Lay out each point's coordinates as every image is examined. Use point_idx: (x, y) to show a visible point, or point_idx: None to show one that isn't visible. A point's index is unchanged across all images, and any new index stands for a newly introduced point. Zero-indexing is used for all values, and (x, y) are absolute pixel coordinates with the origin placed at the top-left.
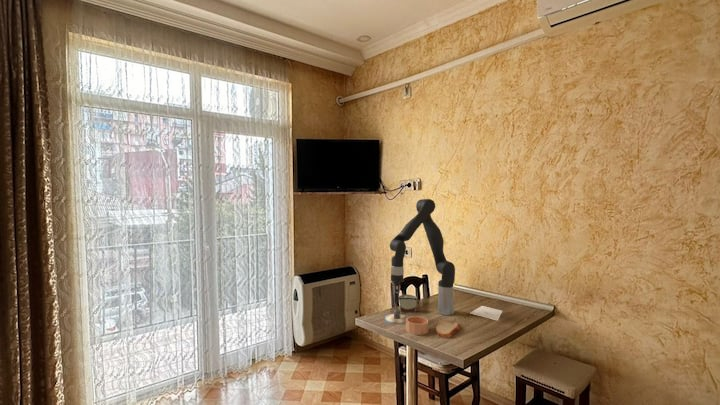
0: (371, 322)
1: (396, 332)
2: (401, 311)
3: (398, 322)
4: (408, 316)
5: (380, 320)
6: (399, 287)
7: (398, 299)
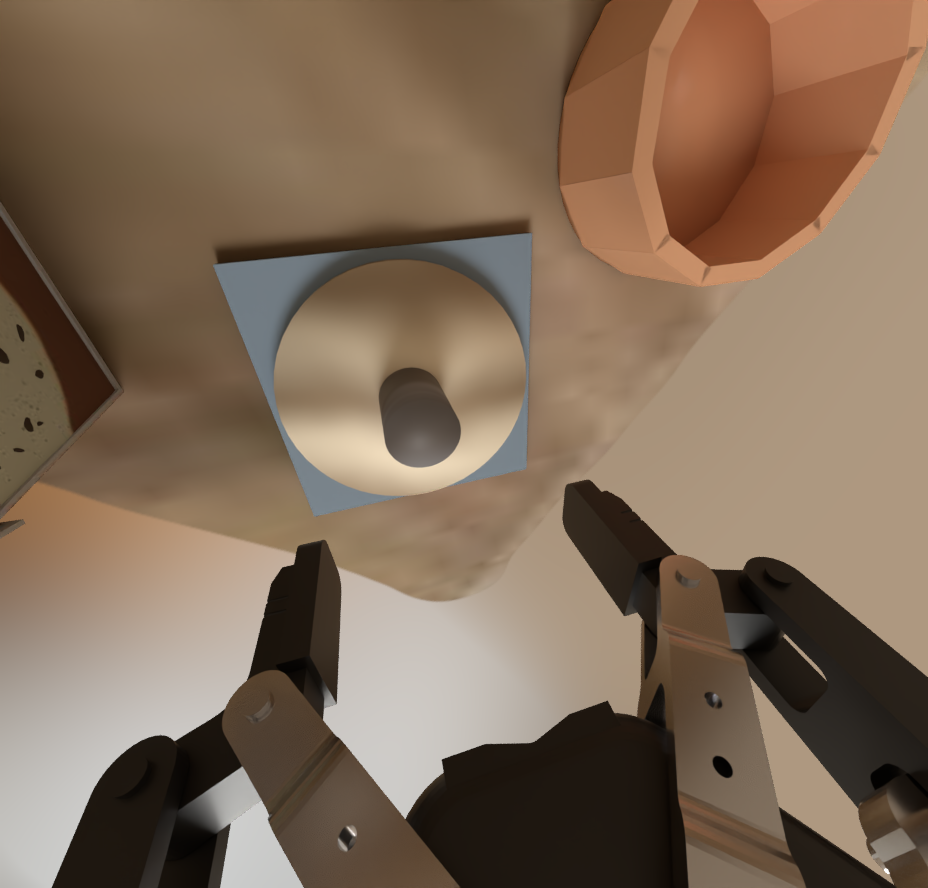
0: (500, 539)
1: (669, 346)
2: (107, 386)
3: (523, 362)
4: (265, 269)
5: (450, 504)
6: (787, 868)
7: (620, 514)
